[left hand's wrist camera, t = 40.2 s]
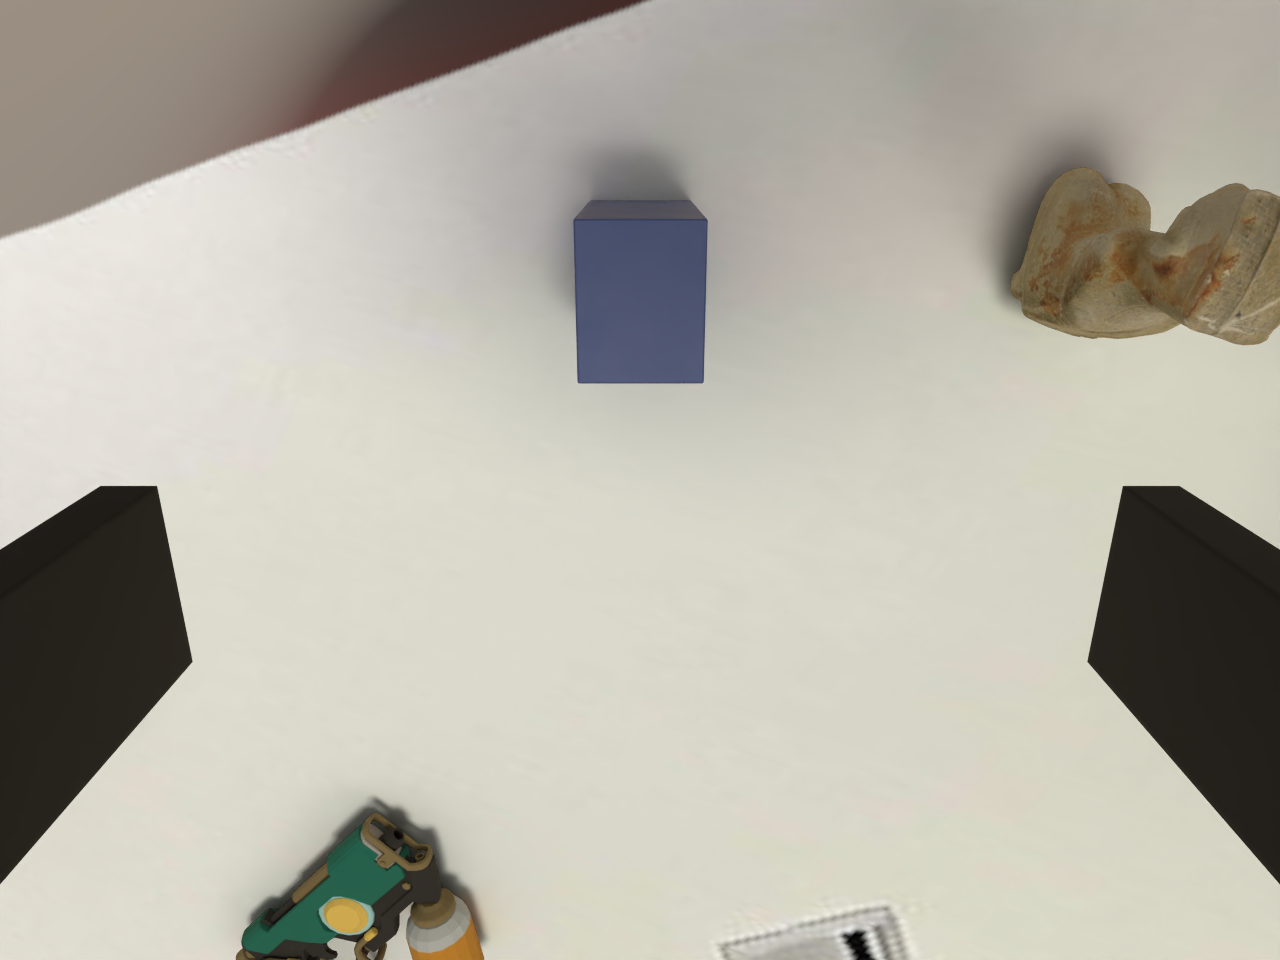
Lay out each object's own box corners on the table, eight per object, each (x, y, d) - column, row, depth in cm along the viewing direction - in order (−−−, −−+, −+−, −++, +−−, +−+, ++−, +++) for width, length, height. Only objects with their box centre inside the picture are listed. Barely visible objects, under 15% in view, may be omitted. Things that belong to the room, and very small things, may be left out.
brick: (592, 327, 46) (577, 383, 35) (589, 200, 44) (573, 219, 33) (688, 327, 46) (703, 383, 35) (691, 200, 44) (707, 219, 33)
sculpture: (1150, 199, 44) (1391, 226, 30) (1072, 336, 46) (1262, 420, 32) (1045, 153, 43) (1242, 157, 29) (972, 294, 45) (1122, 362, 31)
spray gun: (337, 1023, 64) (205, 876, 60) (532, 947, 60) (404, 784, 56) (313, 1081, 60) (169, 928, 56) (519, 1004, 56) (381, 833, 52)
